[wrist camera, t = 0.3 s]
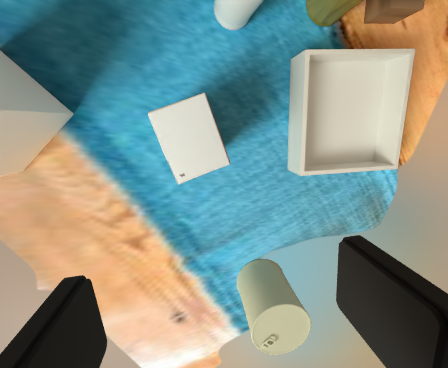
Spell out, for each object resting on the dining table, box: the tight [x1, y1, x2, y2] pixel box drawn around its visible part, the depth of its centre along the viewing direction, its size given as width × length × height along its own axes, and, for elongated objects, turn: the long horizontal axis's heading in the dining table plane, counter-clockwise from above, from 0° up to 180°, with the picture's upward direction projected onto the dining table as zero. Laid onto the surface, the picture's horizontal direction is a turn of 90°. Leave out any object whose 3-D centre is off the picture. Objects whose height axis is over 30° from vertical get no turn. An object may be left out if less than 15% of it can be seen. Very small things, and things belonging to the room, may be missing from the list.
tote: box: [288, 49, 415, 176], centre depth 37 cm, size 17×16×5 cm
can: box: [237, 259, 311, 355], centre depth 40 cm, size 9×9×12 cm
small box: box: [148, 93, 230, 184], centre depth 31 cm, size 8×6×13 cm
